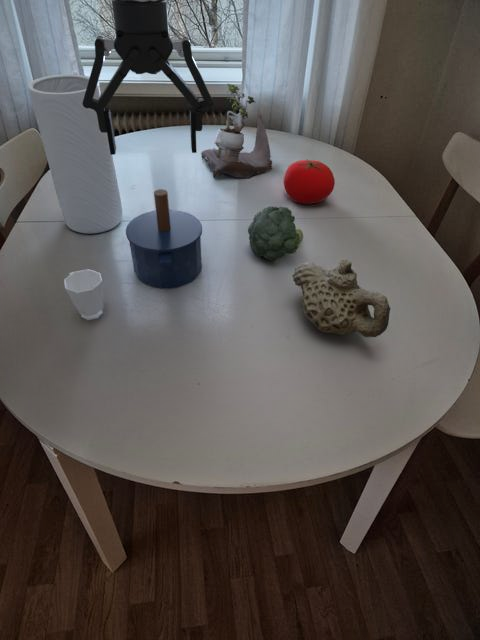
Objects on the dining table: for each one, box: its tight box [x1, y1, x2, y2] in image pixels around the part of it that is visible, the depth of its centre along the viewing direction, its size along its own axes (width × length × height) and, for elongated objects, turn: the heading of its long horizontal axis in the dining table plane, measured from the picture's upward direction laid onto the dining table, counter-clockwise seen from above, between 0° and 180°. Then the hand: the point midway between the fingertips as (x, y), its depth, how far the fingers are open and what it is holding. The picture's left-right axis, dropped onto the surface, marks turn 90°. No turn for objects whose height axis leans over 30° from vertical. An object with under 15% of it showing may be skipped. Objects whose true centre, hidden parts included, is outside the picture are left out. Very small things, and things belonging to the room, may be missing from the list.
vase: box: [27, 74, 124, 235], centre depth 98 cm, size 14×14×32 cm
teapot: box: [292, 258, 391, 338], centre depth 78 cm, size 21×12×15 cm, turn 40°
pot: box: [128, 236, 203, 290], centre depth 92 cm, size 15×20×10 cm
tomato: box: [283, 159, 336, 205], centre depth 118 cm, size 14×13×10 cm
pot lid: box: [125, 188, 203, 252], centre depth 86 cm, size 16×16×9 cm
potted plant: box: [200, 82, 273, 180], centre depth 131 cm, size 20×19×25 cm
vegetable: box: [247, 205, 304, 262], centre depth 98 cm, size 12×13×15 cm
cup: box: [63, 268, 104, 321], centre depth 82 cm, size 7×10×8 cm
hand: (154, 150), depth 74 cm, fingers open, 13 cm apart
